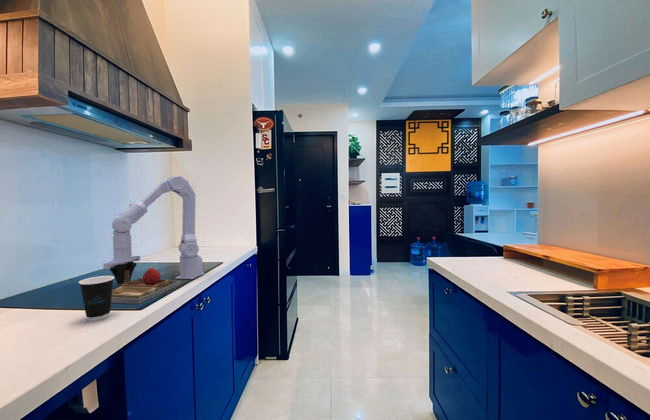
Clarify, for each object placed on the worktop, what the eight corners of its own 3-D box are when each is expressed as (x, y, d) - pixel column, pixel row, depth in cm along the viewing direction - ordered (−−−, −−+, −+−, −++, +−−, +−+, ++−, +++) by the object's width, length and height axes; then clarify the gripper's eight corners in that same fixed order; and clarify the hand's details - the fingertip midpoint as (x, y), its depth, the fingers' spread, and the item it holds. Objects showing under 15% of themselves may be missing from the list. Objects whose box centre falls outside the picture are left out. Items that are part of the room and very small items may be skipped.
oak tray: (113, 291, 104) (112, 274, 103) (157, 293, 101) (156, 275, 101) (90, 300, 95) (89, 280, 95) (137, 302, 92) (137, 282, 92)
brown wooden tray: (146, 283, 114) (146, 279, 114) (180, 285, 112) (180, 281, 111) (97, 302, 94) (97, 297, 94) (138, 304, 91) (138, 299, 91)
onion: (154, 289, 105) (154, 268, 104) (139, 289, 105) (138, 268, 104) (163, 284, 110) (163, 264, 110) (149, 285, 111) (148, 264, 110)
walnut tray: (129, 283, 114) (129, 267, 114) (170, 285, 111) (169, 268, 111) (110, 290, 105) (109, 273, 105) (153, 292, 103) (153, 274, 102)
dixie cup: (104, 310, 86) (103, 274, 86) (122, 313, 83) (120, 276, 83) (73, 320, 79) (71, 281, 78) (91, 325, 76) (90, 284, 76)
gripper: (129, 245, 117) (130, 277, 117) (95, 251, 102) (97, 288, 103) (144, 245, 116) (145, 278, 116) (112, 251, 101) (114, 289, 102)
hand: (123, 283), depth 109 cm, fingers closed on walnut tray, 2 cm apart
